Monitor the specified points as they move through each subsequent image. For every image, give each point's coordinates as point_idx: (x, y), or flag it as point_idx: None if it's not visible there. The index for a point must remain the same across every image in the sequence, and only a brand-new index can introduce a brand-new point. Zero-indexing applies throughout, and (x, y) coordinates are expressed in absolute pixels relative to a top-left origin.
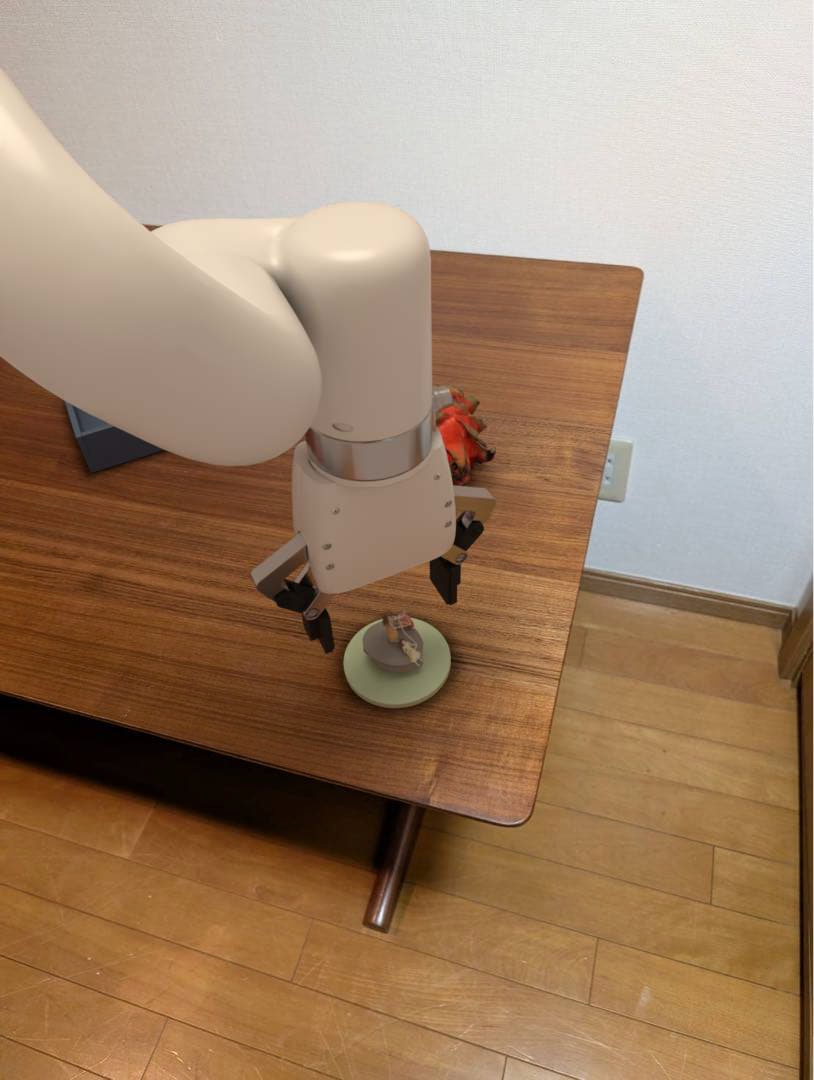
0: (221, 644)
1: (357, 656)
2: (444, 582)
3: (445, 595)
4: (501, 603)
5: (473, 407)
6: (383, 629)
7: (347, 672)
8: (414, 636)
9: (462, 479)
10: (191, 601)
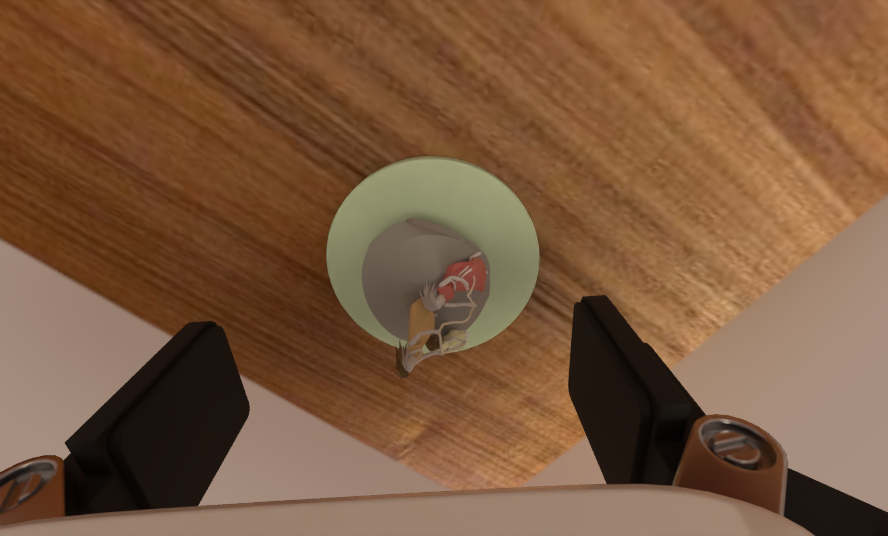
0: (58, 52)
1: (359, 232)
2: (595, 434)
3: (578, 400)
4: (695, 210)
5: None
6: (412, 276)
7: (331, 258)
8: (474, 299)
9: None
10: None
